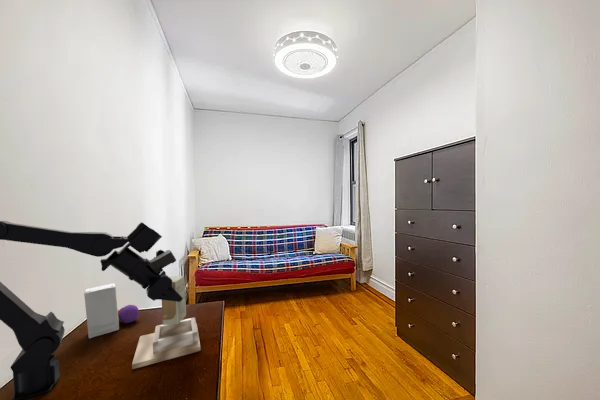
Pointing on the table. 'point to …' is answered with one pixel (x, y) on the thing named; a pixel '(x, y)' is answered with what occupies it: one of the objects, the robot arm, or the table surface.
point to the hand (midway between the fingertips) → (178, 296)
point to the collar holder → (167, 343)
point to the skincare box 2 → (175, 303)
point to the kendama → (128, 313)
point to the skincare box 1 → (101, 310)
